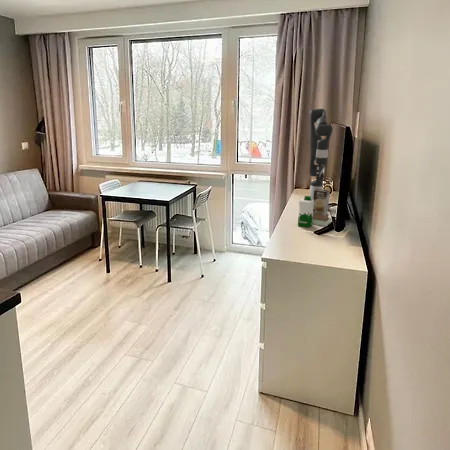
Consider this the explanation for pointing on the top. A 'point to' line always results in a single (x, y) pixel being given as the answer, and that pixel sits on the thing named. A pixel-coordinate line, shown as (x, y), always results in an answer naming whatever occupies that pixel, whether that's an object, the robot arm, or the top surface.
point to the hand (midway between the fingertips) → (319, 180)
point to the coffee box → (321, 202)
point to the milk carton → (305, 212)
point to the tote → (322, 222)
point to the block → (320, 217)
